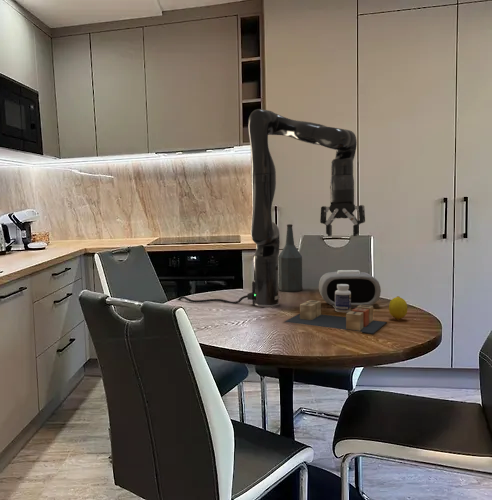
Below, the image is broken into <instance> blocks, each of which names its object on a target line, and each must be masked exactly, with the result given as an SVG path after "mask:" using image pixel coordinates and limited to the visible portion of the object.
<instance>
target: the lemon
mask: <svg viewBox="0 0 492 500" xmlns="http://www.w3.org/2000/svg"><path fill="white" fill-rule="evenodd" d="M408 310H409V309H408V304H407V301H406V300H405V299H404V298H402V297H400V296H396V297H393V298H391V300H390V301H389V303H388V312H389V314H390V315H391V317H393V318H395V320H397V321H399V320H401V319H402V318H405V317H406V315H407V314H408Z"/></svg>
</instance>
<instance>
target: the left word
mask: <svg viewBox="0 0 492 500" xmlns="http://www.w3.org/2000/svg"><path fill="white" fill-rule="evenodd" d="M299 314H300V319H305V320H313V319H315V318H316V317H318V316H320V315H321V314H322V301H321V300H314V299H308V300H307V301H305V302H302V303H300V304H299Z"/></svg>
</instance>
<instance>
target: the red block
mask: <svg viewBox="0 0 492 500" xmlns="http://www.w3.org/2000/svg"><path fill="white" fill-rule="evenodd" d="M351 311H354V312H363V327H366V326H367V325H368V324H369V309H363V308H352V309H351Z"/></svg>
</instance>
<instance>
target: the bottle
mask: <svg viewBox="0 0 492 500" xmlns="http://www.w3.org/2000/svg"><path fill="white" fill-rule="evenodd" d="M285 237H286V238H285V245H284V246H283V248H282V250H281V252H279V256H278V291H280V292H284V293H299V292H301V291H303V256H302V255H301V253H300V251H299V250H298V248H297V247H296V245H295V237H294V231H293V224H292V223H291V224H290V223H289V224H286V236H285Z"/></svg>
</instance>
